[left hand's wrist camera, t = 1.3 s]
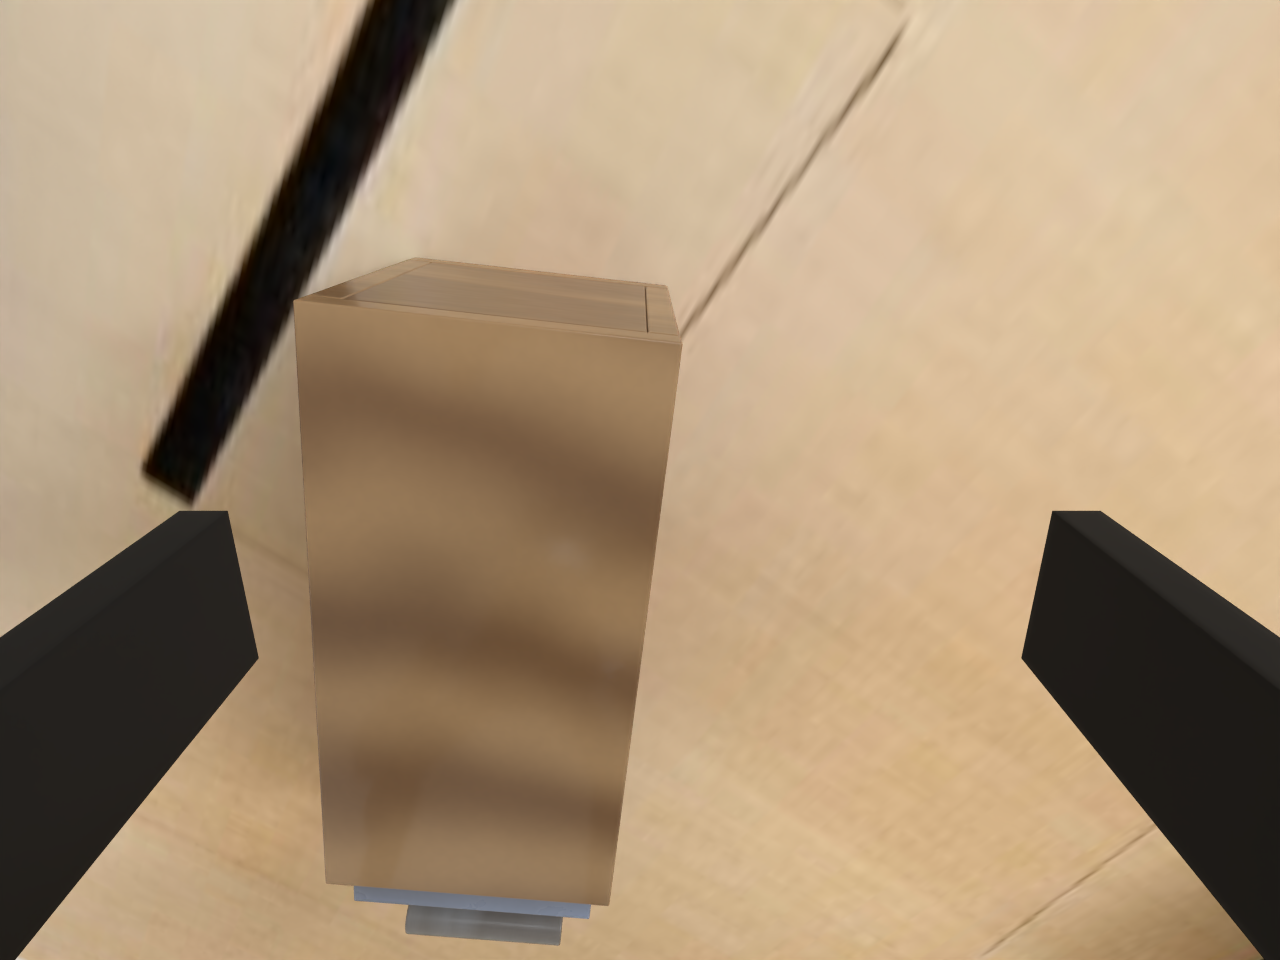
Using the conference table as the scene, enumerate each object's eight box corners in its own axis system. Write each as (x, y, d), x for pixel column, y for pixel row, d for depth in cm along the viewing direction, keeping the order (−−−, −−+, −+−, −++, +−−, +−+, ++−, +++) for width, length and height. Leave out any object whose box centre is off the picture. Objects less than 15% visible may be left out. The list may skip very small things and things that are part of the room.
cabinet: (617, 704, 37) (609, 906, 27) (413, 686, 37) (325, 884, 27) (667, 285, 30) (682, 342, 20) (413, 257, 30) (292, 299, 19)
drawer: (590, 841, 39) (576, 1026, 31) (419, 827, 39) (358, 1011, 30) (644, 366, 30) (645, 442, 22) (422, 343, 30) (334, 409, 21)
